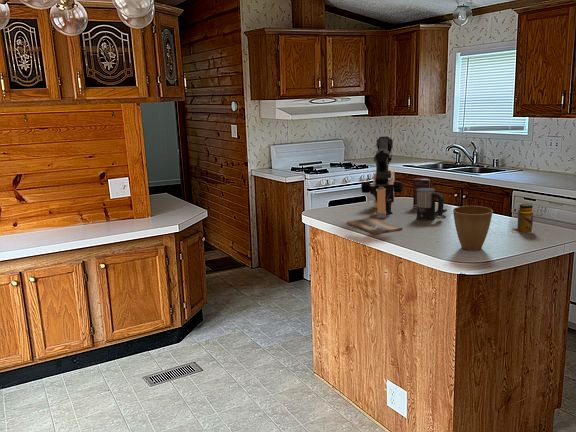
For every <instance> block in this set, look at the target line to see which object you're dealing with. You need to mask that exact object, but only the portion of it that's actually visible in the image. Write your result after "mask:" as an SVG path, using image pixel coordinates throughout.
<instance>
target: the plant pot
mask: <svg viewBox="0 0 576 432" xmlns="http://www.w3.org/2000/svg"><path fill="white" fill-rule="evenodd" d="M493 211H494V210H493V209H491V207H486V206H480V205H463V206H457V207H454V208H452V213H453V219H454V226H455V230H456V234H457V237H458V240H459V243H460V246H461V248H463V250H464V249H466V250H465V251H469V250H477V251H480V250H481V249H482V248H483V246H484V243H485V241H486V238H487V236H488V232H489V229H490V226H491V221H492V218H493V216H492V215H493ZM479 249H480V250H479Z"/></svg>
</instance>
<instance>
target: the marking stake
mask: <svg viewBox="0 0 576 432" xmlns="http://www.w3.org/2000/svg"><path fill="white" fill-rule="evenodd" d="M385 197H386V190H385V188H384V187H383V186H380V187H379V188H378V189H377V208H376V212H377V213H376V218H386V217H387V214H386V203H385Z"/></svg>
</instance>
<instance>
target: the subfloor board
mask: <svg viewBox="0 0 576 432" xmlns="http://www.w3.org/2000/svg"><path fill="white" fill-rule="evenodd" d="M346 224H348V225H350V226H353V227H354V228H357V229H360V230H363V231H366V232H368V233H371V234H373V235H378V234H379V235H380V234H384V233H385V234H386V233H392V232H397V230H398V231H403V227H402V226H398V225H395V224H393V223H389V222H386V221H385V220H382V219H380V218H377V217H376V218H375V217H366V218H363V219H353V220H348V221H347V222H346Z"/></svg>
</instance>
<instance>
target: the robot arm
mask: <svg viewBox="0 0 576 432" xmlns="http://www.w3.org/2000/svg"><path fill="white" fill-rule="evenodd" d="M375 143H376V147H375V148H376V149H377V150H376V152H375V155H374V157H373V162H374V163H375V167H376V169H375V172H376V177H375V183H376V184H373V183H371V181H362V182H361V185H360V187H361V193H363V194H370V195H372V196H374V198H375V200H376V203H377V191H376V189H378V188H379V187H380V186H383V187H384V188H385V190H386V197H385V203H386V215H391V214H394V212H392V205H391V203H392V202H394V203H395V193H398V194H399V193H403V182H402V181H397V180H396V181H395V180H394V182H393V185H390V184H388V178H391V171H388V170H389V165H390V163H391V162H392V160H393V157H392V155H391V153H392V149H393V147H394V139H393V138H390V136H387V135H386V136H384V135H383V136H378V139H376V142H375ZM393 190H394V191H393ZM393 193H394V194H393ZM390 199H391V200H390ZM375 212H376V214H377V211H375Z"/></svg>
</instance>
